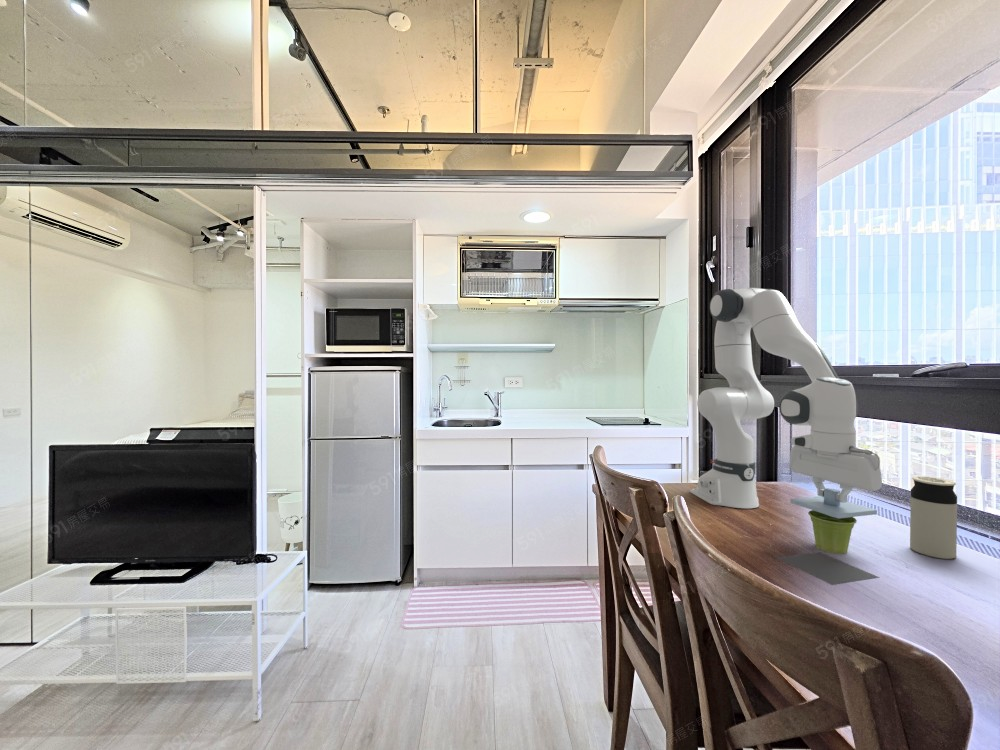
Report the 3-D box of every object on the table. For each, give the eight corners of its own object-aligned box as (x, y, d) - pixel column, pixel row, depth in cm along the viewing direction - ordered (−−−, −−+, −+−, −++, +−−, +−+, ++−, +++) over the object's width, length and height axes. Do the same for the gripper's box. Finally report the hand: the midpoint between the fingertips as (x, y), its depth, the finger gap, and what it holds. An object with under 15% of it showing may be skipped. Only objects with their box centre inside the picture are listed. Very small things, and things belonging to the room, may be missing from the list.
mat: (776, 560, 100) (776, 557, 100) (819, 554, 103) (819, 551, 103) (832, 587, 87) (832, 584, 87) (879, 580, 90) (879, 577, 90)
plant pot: (865, 560, 100) (865, 524, 100) (820, 557, 102) (820, 521, 101) (842, 544, 109) (842, 511, 109) (800, 541, 111) (801, 508, 111)
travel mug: (920, 556, 102) (921, 482, 102) (903, 544, 109) (904, 474, 109) (964, 562, 99) (965, 485, 99) (943, 549, 106) (944, 477, 106)
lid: (790, 502, 109) (790, 485, 109) (826, 499, 112) (826, 482, 112) (837, 518, 98) (838, 499, 98) (876, 514, 101) (877, 495, 101)
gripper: (889, 450, 96) (888, 511, 96) (804, 436, 116) (803, 487, 116) (868, 451, 94) (867, 513, 94) (785, 437, 114) (785, 488, 114)
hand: (831, 499), depth 105 cm, fingers closed on lid, 3 cm apart
